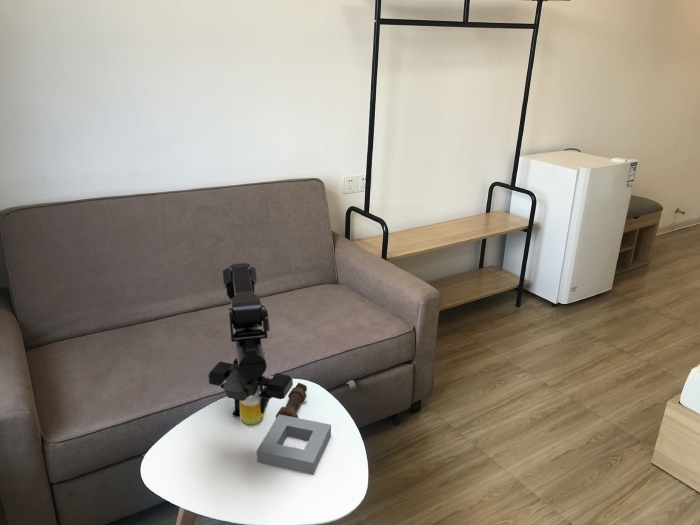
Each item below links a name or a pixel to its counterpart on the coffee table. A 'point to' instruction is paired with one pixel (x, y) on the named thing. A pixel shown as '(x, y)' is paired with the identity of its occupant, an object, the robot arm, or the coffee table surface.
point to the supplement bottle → (251, 410)
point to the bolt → (294, 401)
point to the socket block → (292, 457)
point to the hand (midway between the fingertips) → (251, 409)
